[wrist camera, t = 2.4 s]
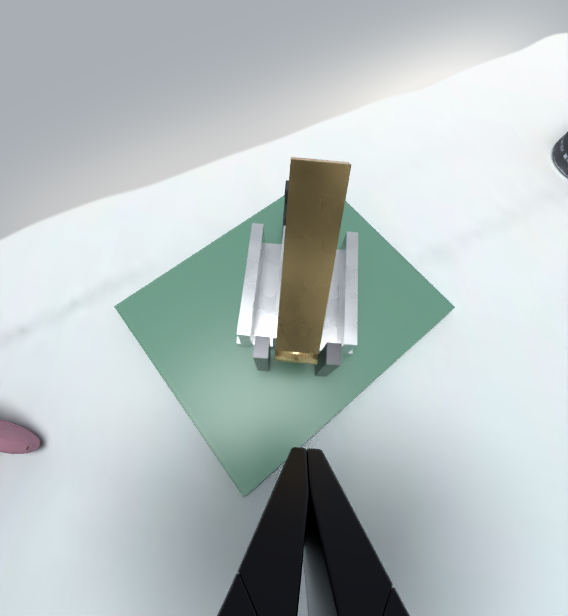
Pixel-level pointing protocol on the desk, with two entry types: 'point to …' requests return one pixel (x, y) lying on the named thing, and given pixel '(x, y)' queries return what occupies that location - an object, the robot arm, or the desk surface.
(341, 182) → the bar
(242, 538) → the desk surface
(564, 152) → the pill bottle
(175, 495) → the desk surface
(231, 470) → the motherboard
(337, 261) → the heatsink mount
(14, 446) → the pink curved lobed piece
